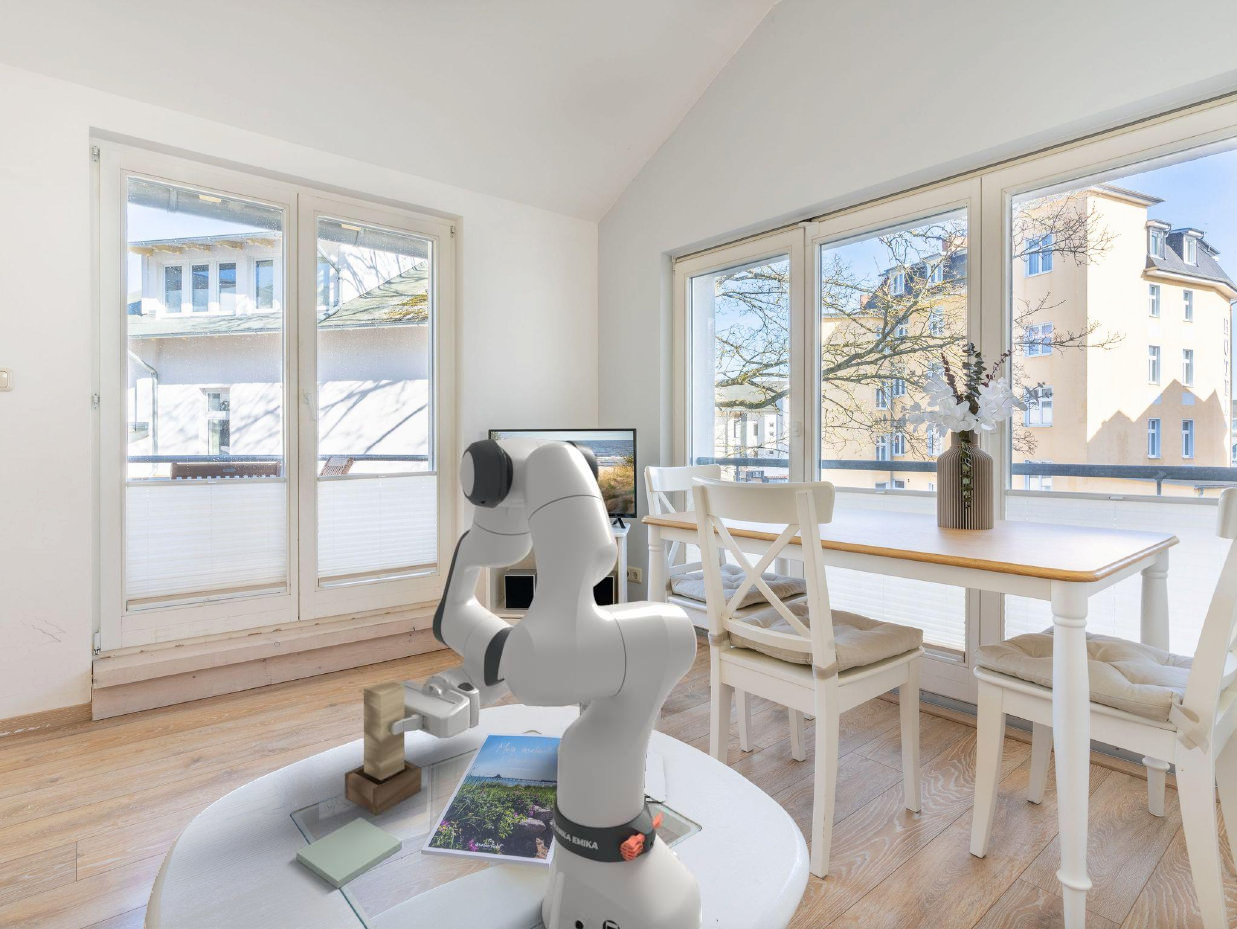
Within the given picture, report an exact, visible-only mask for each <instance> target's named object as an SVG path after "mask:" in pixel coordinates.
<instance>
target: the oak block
mask: <svg viewBox="0 0 1237 929" xmlns="http://www.w3.org/2000/svg"><path fill="white" fill-rule="evenodd" d="M396 719H399V720H402V719H404V685H401V684H398V683H396V682H395V681H392V680H390V679H385V680H383V681H380V682H377V683H374V684H371V685H369V686H366V687H363V765H364V772H365V773H367V774H369V775H371V776H373V777H375V778H377V779H379V780H383V779H385V778H387V777H389V776H391V775H393V774H395V773H397V772H399V771H401V770H403V769H404V760H405V732H401V733H399V734H397V735H394V734H392V733H390V732H389V731H388V729H389V727H388V724H389V723H390V722H391V721H394V720H396Z"/></svg>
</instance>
